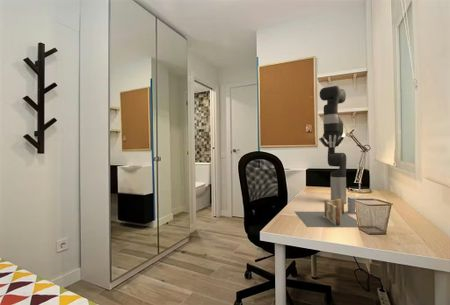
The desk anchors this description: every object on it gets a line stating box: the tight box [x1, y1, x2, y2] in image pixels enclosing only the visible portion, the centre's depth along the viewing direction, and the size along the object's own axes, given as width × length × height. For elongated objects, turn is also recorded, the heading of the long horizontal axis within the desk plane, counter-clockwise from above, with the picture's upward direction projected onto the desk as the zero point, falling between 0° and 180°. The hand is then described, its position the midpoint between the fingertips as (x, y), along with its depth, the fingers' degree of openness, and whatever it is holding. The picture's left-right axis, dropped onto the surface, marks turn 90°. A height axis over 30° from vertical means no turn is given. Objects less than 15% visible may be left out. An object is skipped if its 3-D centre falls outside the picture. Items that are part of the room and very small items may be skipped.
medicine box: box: [347, 196, 366, 215], centre depth 123 cm, size 8×4×9 cm, turn 84°
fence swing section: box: [326, 202, 340, 225], centre depth 108 cm, size 13×2×8 cm, turn 177°
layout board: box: [294, 211, 359, 228], centre depth 113 cm, size 26×27×1 cm
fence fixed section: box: [323, 198, 345, 217], centre depth 119 cm, size 14×2×9 cm, turn 115°
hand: (331, 154), depth 123 cm, fingers closed
